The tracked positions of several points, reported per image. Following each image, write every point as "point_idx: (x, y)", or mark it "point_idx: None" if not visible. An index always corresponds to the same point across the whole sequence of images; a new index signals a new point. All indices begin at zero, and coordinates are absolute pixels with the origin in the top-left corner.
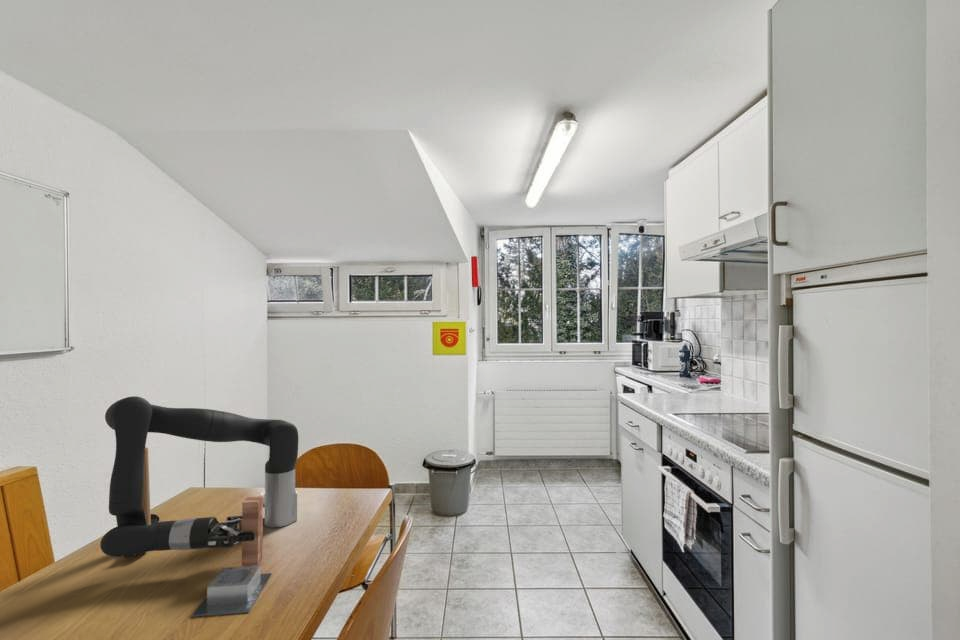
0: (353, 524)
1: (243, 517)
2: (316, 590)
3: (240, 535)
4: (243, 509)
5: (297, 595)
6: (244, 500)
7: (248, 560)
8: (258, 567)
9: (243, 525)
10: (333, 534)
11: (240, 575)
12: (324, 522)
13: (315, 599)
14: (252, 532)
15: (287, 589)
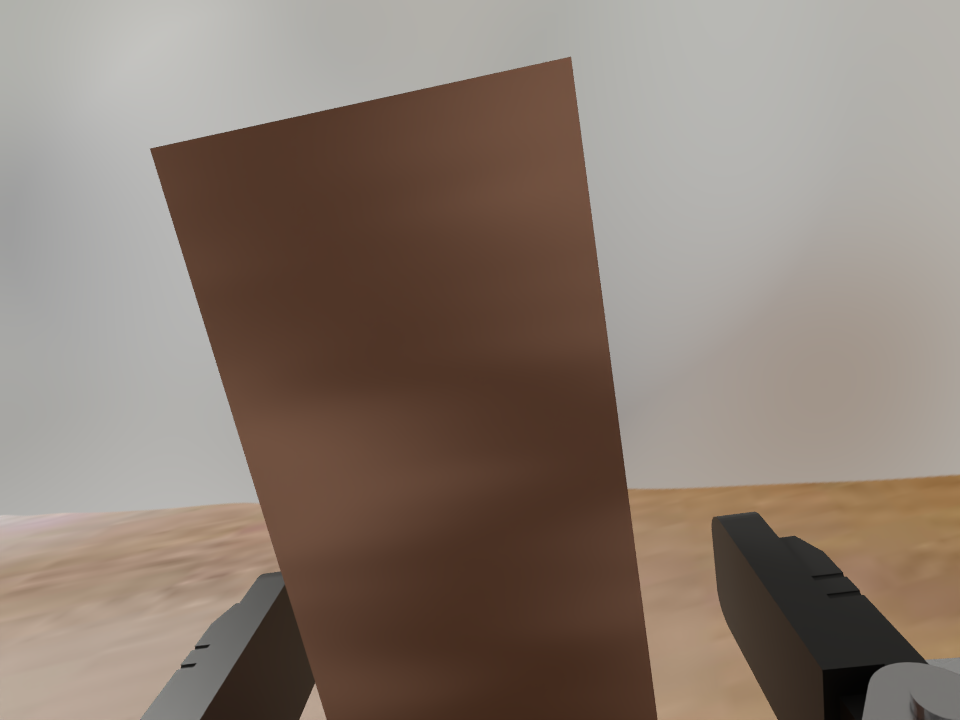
0: (203, 537)
1: (616, 452)
2: (821, 501)
3: (899, 654)
4: (595, 260)
5: (905, 543)
6: (406, 93)
7: None
8: (941, 663)
9: (642, 608)
10: (255, 577)
11: None
12: (39, 652)
13: (894, 486)
14: (757, 519)
15: (875, 597)
